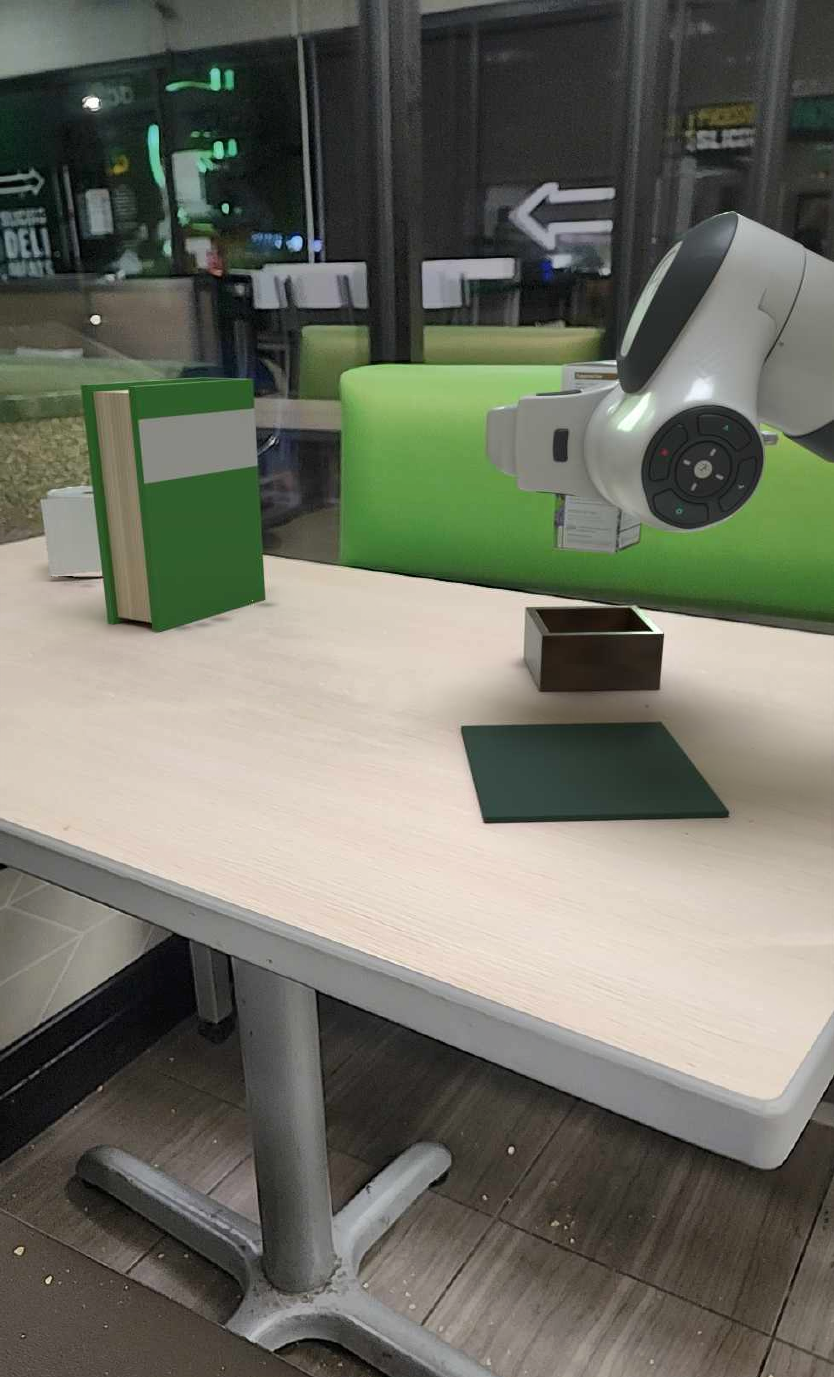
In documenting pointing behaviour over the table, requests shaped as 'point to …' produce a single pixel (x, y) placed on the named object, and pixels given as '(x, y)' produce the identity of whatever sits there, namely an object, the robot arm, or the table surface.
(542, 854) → the table surface
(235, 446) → the hardback book
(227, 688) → the table surface
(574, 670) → the box
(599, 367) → the syrup box
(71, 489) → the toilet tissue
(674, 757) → the mat
